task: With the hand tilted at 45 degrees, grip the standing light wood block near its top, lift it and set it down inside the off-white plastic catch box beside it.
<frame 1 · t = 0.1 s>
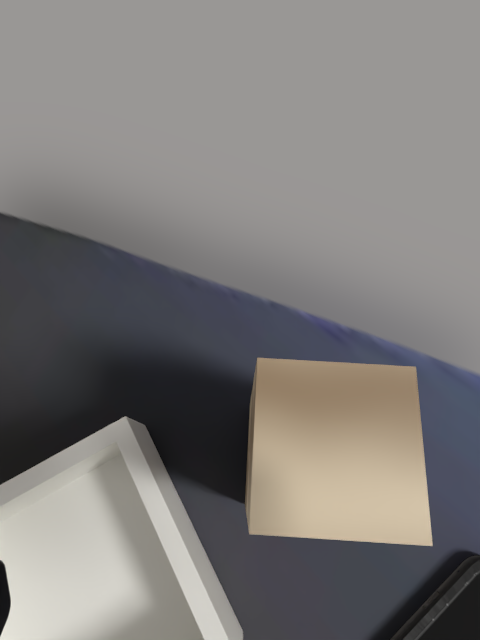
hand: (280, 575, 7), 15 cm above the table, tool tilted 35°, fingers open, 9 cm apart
wood block: (294, 455, 21), on the table
catch box: (91, 580, 19), on the table
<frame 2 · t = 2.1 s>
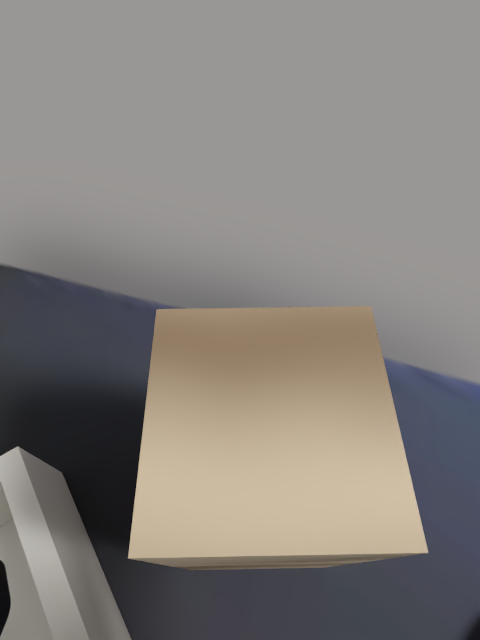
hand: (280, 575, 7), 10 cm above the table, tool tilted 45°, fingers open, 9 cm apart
wood block: (255, 496, 16), on the table
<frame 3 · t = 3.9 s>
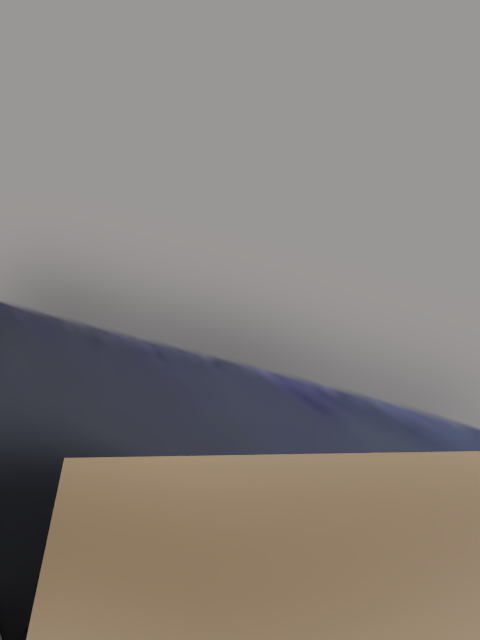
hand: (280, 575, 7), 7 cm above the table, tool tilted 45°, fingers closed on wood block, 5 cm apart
wood block: (264, 633, 11), on the table, touching gripper
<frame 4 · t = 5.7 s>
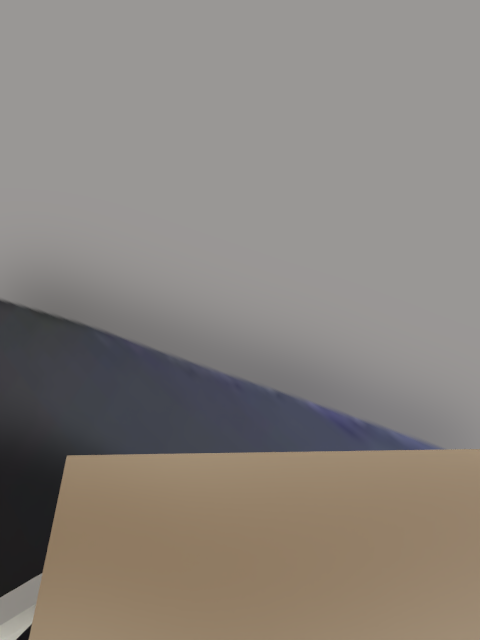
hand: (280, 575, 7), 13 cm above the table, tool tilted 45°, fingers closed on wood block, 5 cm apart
wood block: (264, 631, 11), point 7 cm above the table, touching gripper
when the fingers open (8 cm above the table, at t = 8.0 s): wood block drops 1 cm, resting on catch box.
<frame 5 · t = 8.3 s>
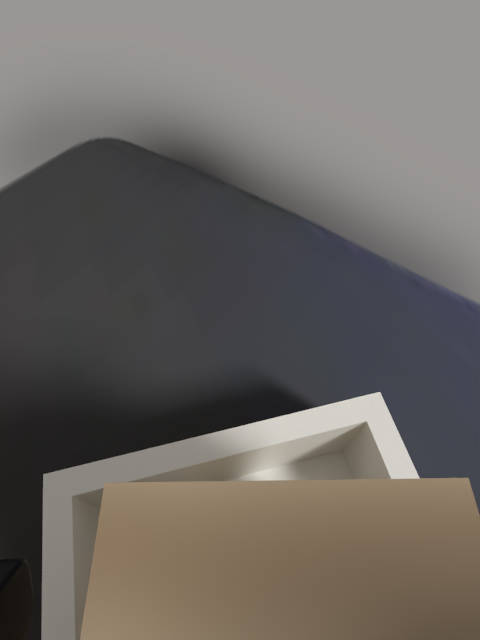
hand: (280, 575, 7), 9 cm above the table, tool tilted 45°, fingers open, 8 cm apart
wood block: (262, 626, 13), resting on catch box
catch box: (261, 625, 13), on the table
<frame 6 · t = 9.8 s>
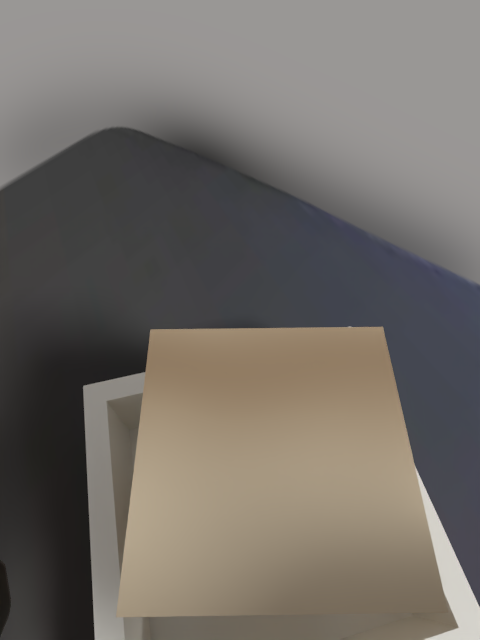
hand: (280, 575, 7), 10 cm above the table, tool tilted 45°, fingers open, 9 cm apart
wood block: (255, 512, 16), resting on catch box
catch box: (255, 513, 16), on the table
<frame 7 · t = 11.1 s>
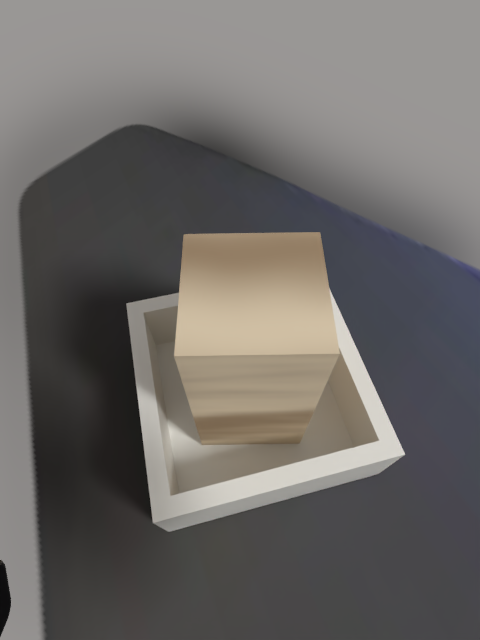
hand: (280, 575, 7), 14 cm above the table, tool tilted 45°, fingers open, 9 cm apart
wood block: (249, 397, 22), resting on catch box
catch box: (249, 401, 22), on the table
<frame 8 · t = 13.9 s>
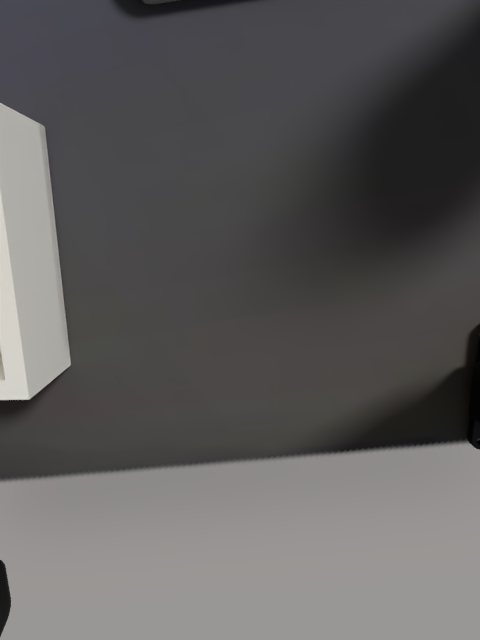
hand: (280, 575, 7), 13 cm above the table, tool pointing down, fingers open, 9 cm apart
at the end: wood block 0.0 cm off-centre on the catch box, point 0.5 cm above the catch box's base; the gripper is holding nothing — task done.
